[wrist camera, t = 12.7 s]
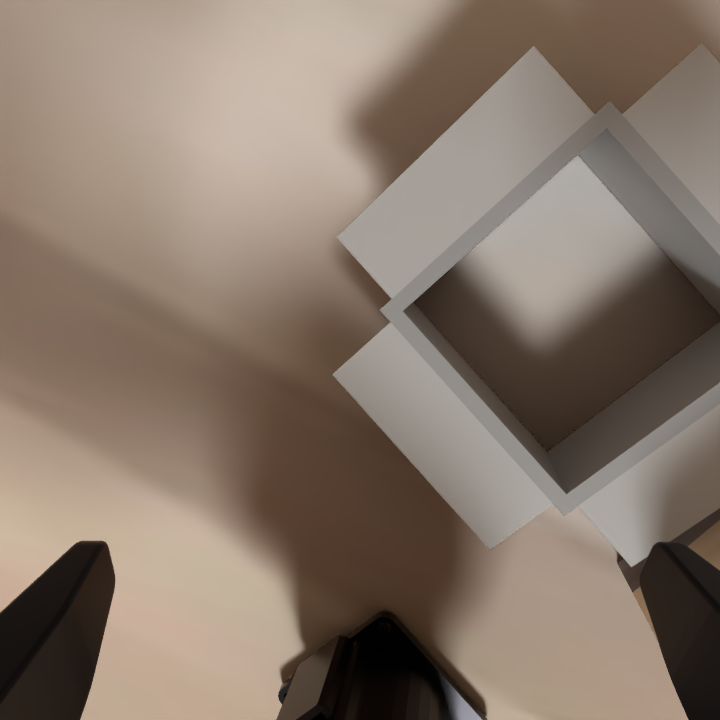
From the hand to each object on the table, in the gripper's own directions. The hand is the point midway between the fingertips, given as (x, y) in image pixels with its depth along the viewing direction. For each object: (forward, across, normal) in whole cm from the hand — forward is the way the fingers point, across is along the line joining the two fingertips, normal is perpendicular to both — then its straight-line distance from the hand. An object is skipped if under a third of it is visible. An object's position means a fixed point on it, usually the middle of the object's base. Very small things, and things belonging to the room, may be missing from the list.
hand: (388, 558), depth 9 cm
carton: (+12, -7, +1) cm, 14 cm away
